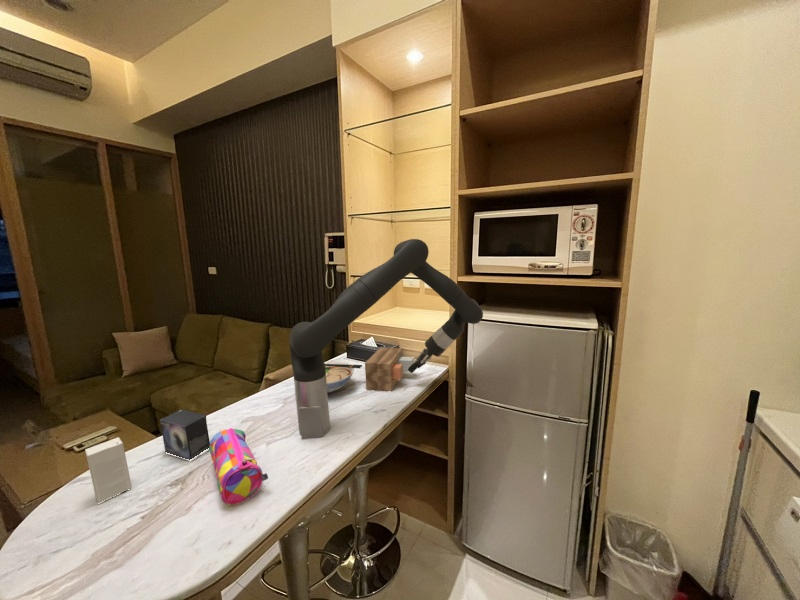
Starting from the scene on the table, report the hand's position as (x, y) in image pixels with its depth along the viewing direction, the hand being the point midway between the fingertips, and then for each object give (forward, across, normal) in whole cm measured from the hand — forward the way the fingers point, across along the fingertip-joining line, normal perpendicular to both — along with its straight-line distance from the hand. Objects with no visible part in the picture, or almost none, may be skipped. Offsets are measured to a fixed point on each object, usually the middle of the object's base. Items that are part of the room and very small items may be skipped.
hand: (409, 370), depth 124 cm
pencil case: (+27, +58, -18) cm, 66 cm away
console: (+12, -4, -4) cm, 14 cm away
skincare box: (+44, +67, -36) cm, 88 cm away
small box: (+42, +51, -34) cm, 74 cm away
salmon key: (+7, 0, -3) cm, 7 cm away
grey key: (+5, -9, -1) cm, 10 cm away
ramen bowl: (+28, +8, -19) cm, 34 cm away
